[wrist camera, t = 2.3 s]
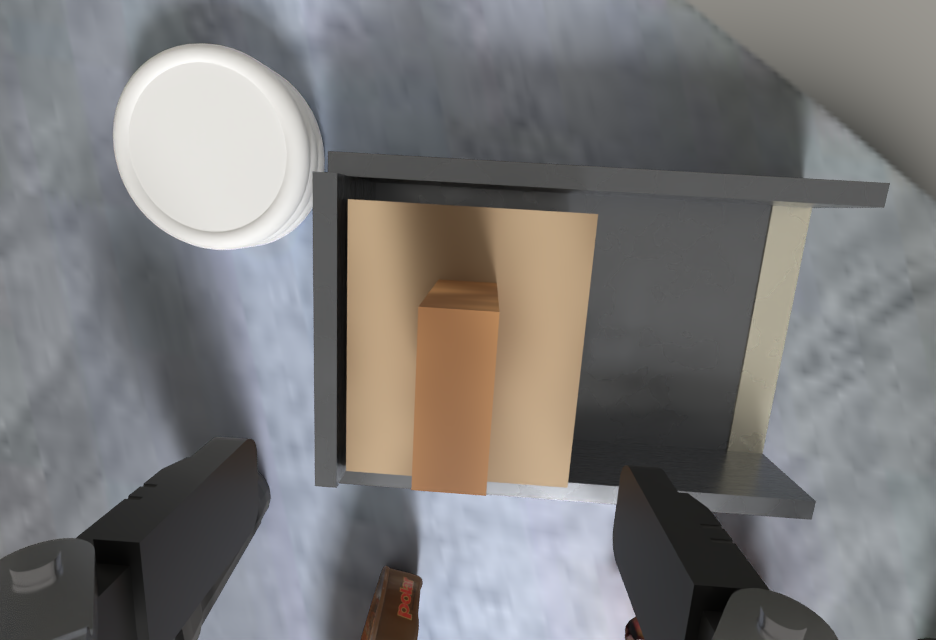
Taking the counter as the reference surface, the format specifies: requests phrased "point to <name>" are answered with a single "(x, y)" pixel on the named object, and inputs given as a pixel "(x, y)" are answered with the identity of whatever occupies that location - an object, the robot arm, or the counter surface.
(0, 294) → the counter surface
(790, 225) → the bay
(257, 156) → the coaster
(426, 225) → the wooden block with upright
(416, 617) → the tin
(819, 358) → the counter surface
